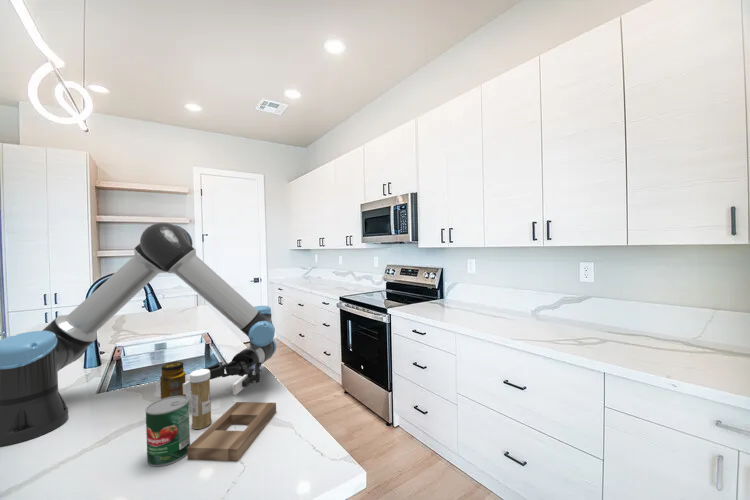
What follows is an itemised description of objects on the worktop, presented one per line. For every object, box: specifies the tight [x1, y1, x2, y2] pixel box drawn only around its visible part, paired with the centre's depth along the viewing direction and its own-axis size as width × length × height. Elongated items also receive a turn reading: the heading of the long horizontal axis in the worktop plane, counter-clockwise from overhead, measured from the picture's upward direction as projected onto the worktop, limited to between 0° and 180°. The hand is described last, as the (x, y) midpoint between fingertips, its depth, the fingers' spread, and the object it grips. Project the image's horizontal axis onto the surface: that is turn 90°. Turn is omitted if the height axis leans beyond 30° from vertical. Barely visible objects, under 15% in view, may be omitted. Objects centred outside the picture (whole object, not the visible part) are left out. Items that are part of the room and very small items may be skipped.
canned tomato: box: [145, 395, 191, 468], centre depth 70 cm, size 8×8×11 cm
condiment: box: [159, 361, 191, 401], centre depth 91 cm, size 7×8×12 cm
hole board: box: [187, 401, 277, 462], centre depth 78 cm, size 11×20×2 cm, turn 174°
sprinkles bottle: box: [189, 368, 213, 430], centre depth 82 cm, size 5×5×13 cm
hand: (208, 389), depth 84 cm, fingers open, 13 cm apart
